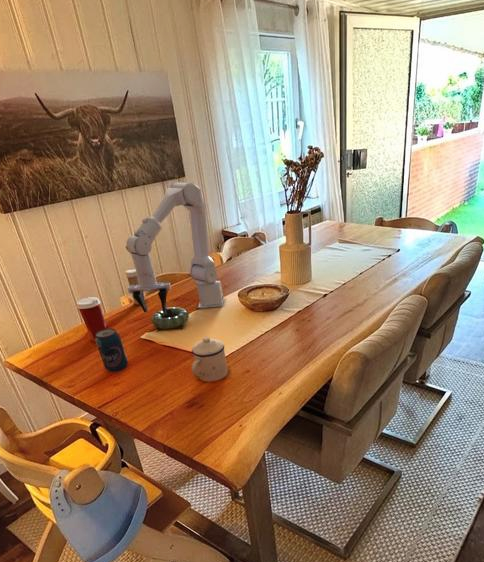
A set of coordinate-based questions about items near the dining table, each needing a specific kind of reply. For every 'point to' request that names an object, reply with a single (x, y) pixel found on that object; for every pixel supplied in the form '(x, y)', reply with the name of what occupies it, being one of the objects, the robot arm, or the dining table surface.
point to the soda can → (111, 350)
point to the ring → (164, 322)
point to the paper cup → (92, 315)
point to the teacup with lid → (209, 360)
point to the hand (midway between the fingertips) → (155, 310)
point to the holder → (170, 314)
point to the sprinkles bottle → (132, 280)
